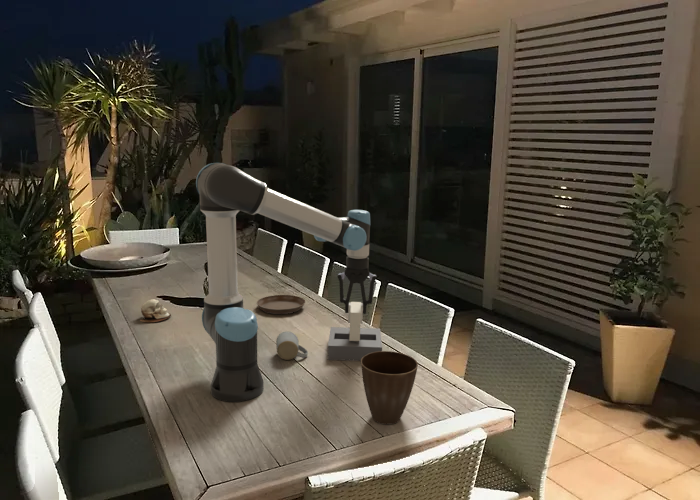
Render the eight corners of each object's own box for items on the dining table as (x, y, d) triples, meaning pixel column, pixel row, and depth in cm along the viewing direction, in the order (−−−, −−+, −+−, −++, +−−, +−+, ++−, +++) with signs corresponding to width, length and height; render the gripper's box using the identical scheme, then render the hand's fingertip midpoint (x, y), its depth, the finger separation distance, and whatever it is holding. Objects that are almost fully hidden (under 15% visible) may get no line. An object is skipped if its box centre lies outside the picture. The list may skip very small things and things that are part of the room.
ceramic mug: (276, 361, 181) (276, 339, 180) (275, 352, 189) (276, 330, 188) (308, 361, 183) (309, 339, 182) (306, 351, 191) (307, 330, 189)
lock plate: (381, 361, 184) (382, 347, 183) (327, 359, 184) (327, 345, 183) (379, 341, 202) (380, 328, 201) (330, 339, 202) (330, 326, 201)
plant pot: (410, 404, 155) (413, 351, 152) (418, 432, 141) (422, 374, 137) (357, 404, 155) (359, 350, 151) (360, 432, 140) (362, 373, 137)
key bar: (359, 341, 186) (360, 312, 184) (349, 340, 186) (350, 312, 184) (359, 328, 197) (360, 302, 195) (350, 328, 197) (350, 301, 195)
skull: (176, 310, 226) (169, 297, 218) (169, 333, 220) (162, 320, 212) (147, 308, 227) (140, 295, 218) (139, 330, 221) (132, 318, 212)
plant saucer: (248, 313, 229) (248, 305, 228) (267, 299, 248) (267, 292, 248) (296, 318, 224) (296, 311, 224) (311, 304, 244) (311, 296, 243)
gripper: (381, 254, 189) (378, 319, 194) (333, 252, 190) (331, 317, 194) (382, 259, 182) (379, 326, 187) (332, 257, 182) (330, 324, 187)
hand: (355, 322), depth 191 cm, fingers closed on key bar, 3 cm apart
